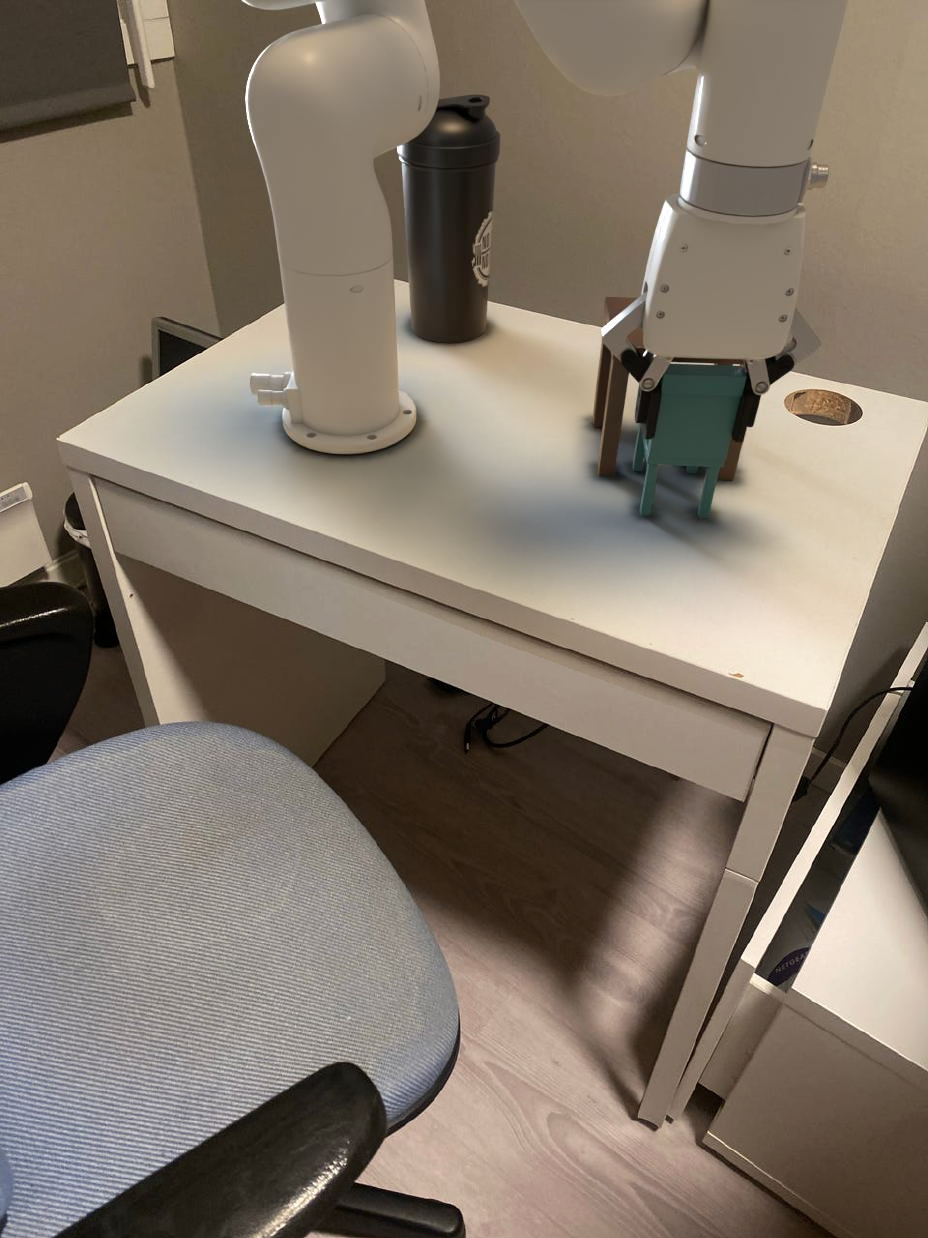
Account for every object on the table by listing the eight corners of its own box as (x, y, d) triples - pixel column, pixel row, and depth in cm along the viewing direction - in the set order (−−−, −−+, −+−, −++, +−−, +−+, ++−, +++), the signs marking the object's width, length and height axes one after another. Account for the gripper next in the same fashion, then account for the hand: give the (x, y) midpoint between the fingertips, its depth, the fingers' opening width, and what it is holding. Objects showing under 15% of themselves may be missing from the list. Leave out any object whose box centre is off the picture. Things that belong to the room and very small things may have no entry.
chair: (712, 523, 74) (746, 376, 65) (638, 520, 74) (663, 373, 65) (697, 467, 80) (727, 327, 71) (629, 464, 80) (651, 324, 72)
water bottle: (484, 350, 97) (491, 111, 82) (393, 341, 99) (383, 105, 83) (500, 312, 105) (509, 87, 89) (415, 304, 106) (410, 82, 91)
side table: (597, 475, 79) (614, 346, 71) (591, 419, 86) (605, 296, 78) (735, 480, 78) (767, 351, 70) (716, 423, 86) (744, 300, 78)
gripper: (861, 168, 60) (792, 412, 72) (601, 162, 60) (576, 404, 72) (896, 205, 54) (815, 462, 66) (609, 197, 55) (580, 453, 67)
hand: (691, 430), depth 69 cm, fingers closed on chair, 6 cm apart
